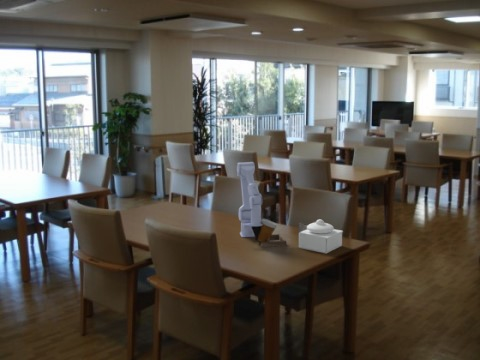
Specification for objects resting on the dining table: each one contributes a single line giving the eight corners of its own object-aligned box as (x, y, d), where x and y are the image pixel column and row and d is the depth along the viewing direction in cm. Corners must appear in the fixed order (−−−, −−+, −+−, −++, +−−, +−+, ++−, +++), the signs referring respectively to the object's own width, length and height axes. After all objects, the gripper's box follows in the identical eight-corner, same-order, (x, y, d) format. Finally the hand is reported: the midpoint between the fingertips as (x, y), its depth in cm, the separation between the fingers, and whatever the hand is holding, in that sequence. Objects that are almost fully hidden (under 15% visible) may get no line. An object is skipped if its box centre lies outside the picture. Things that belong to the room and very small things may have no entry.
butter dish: (314, 240, 317) (315, 213, 314) (342, 246, 306) (343, 218, 303) (298, 247, 303) (298, 219, 301) (327, 253, 292) (327, 224, 290)
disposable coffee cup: (257, 241, 307) (265, 221, 305) (252, 235, 316) (259, 216, 314) (271, 246, 310) (279, 226, 309) (266, 240, 319) (274, 221, 318)
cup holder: (255, 239, 320) (255, 235, 319) (279, 238, 322) (279, 234, 322) (261, 247, 305) (261, 242, 305) (286, 245, 308) (286, 241, 307)
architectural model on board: (316, 238, 322) (316, 222, 320) (312, 239, 320) (312, 223, 318) (301, 234, 331) (302, 219, 329) (298, 235, 329) (298, 220, 327)
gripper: (244, 218, 304) (244, 241, 307) (270, 217, 307) (270, 240, 309) (242, 215, 311) (242, 238, 314) (267, 214, 314) (267, 237, 316)
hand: (256, 239), depth 312 cm, fingers closed
